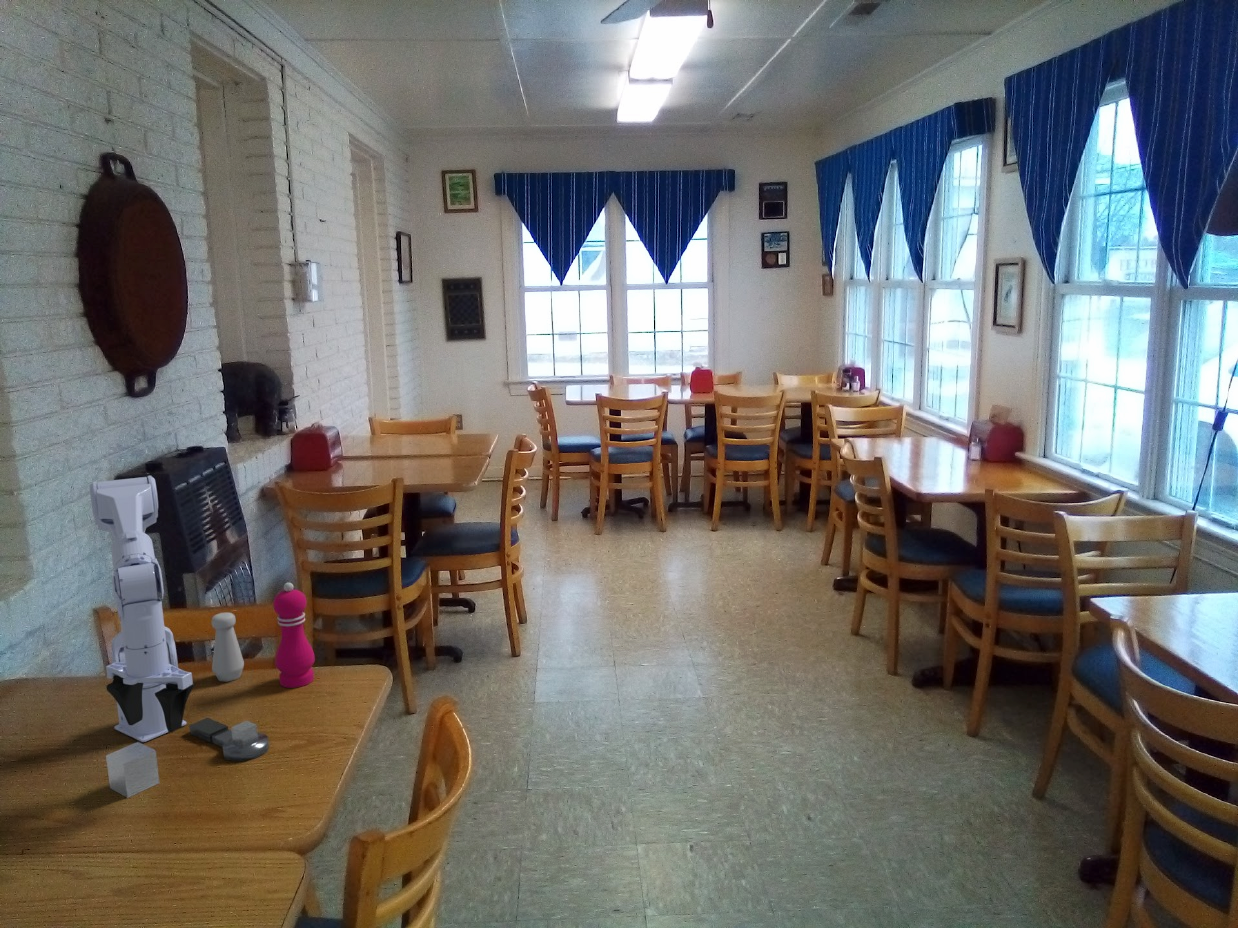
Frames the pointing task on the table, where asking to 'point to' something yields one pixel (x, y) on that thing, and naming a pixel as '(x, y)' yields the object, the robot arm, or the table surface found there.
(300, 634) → the pepper mill
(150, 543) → the robot arm
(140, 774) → the metal cube
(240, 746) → the ratchet
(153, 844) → the table surface
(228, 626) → the salt shaker
